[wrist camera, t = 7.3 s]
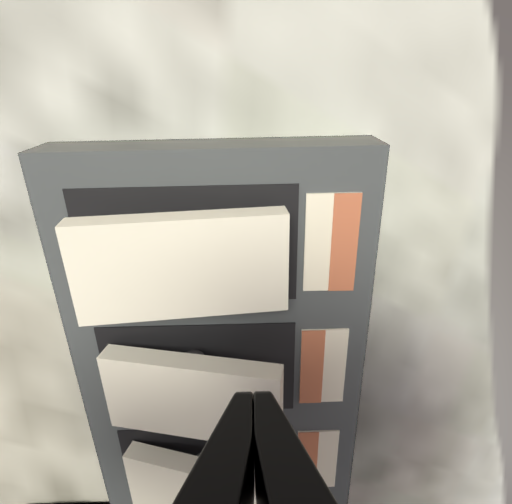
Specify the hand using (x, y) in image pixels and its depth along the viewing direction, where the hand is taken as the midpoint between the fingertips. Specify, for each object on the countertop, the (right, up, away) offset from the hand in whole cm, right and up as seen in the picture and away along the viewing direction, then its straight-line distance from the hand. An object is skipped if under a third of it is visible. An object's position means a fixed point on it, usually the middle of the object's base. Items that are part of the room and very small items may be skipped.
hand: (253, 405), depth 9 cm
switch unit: (-2, -1, +12) cm, 13 cm away
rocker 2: (-3, -3, +9) cm, 10 cm away
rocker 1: (-3, +3, +6) cm, 8 cm away
